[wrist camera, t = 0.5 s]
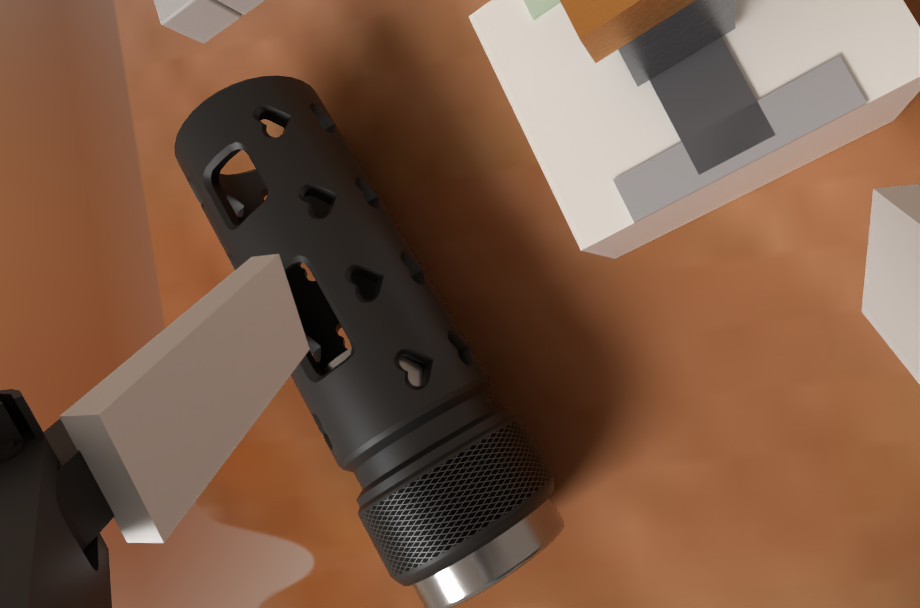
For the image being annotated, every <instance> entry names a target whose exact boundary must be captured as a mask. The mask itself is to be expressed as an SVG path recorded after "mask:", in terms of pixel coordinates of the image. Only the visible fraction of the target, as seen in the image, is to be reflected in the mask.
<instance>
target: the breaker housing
mask: <svg viewBox="0 0 920 608" xmlns="http://www.w3.org/2000/svg"><path fill="white" fill-rule="evenodd" d="M734 1H735V29H734V30H732V31H730V32H729V33H727V34H725V35H724V36H722V37H720V38H719V39H717V40H715V41H714V42H712V43H710V44H709V45H707V46H705V47H704V48H702V49H700V50H699V51H697V52H695V53H694V54H692V55H690V56H689V57H687V58H685V59H684V60H682V61H680V62H679V63H677V64H675V65H674V66H672V67H670V68H669V69H667V70H665V71H664V72H662V73H660V74H659V75H657V76H655V77H654V78H652V79H650V80H649V81H647V82H645V83H643V84H642V85H640V86H637V84H636V82H635V81H634V79H633V77H632V75H631V73H630V71H629V69H628V67H627V66H626V64H625V62H624V60H623V58H622V56H621V54H620V52H619V50H616V51H614V52H613V53H611V54H610V55H608V56H607V57H605V58H603V59H602V60H600V61H599V62H597V63H595V62H594V60H593V59H592V57H591V56H590V54H589V53H588V51H587V50H586V48H585V47H584V45H583V44H582V42H581V41H580V39H579V37H578V35H577V33H576V31H575V29H574V27H573V25H572V23H571V21H570V19H569V17H568V15H567V13H566V11H565V9H564V7H563V5H562V3H561V2H560V0H491V1H490V2H488V3H487V4H485V5H484V6H483V7H481V8H480V9H478V10H477V11H476V12H474V13H473V14H471V15H470V16H469V19H470V21H471V23H472V25H473V27H474V29H475V31H476V33H477V35H478V38H479V40H480V42H481V44H482V46H483V48H484V50H485V52H486V54H487V56H488V58H489V60H490V63H491V65H492V67H493V69H494V71H495V73H496V75H497V77H498V79H499V81H500V83H501V85H502V88H503V90H504V92H505V94H506V96H507V98H508V100H509V102H510V104H511V106H512V108H513V110H514V112H515V115H516V117H517V119H518V121H519V123H520V125H521V127H522V129H523V131H524V133H525V135H526V137H527V140H528V142H529V144H530V146H531V148H532V150H533V152H534V154H535V156H536V158H537V160H538V162H539V165H540V167H541V169H542V171H543V173H544V175H545V177H546V179H547V181H548V183H549V185H550V187H551V190H552V192H553V194H554V196H555V198H556V200H557V202H558V204H559V206H560V208H561V210H562V212H563V215H564V217H565V219H566V221H567V223H568V225H569V227H570V229H571V231H572V233H573V235H574V237H575V240H576V242H577V244H578V246H579V248H580V250H581V251H584V252H589V253H593V254H597V255H601V256H605V257H610V258H614V259H616V258H618V257H620V256H622V255H624V254H626V253H628V252H630V251H632V250H634V249H636V248H638V247H640V246H642V245H644V244H646V243H648V242H650V241H652V240H654V239H656V238H658V237H660V236H663V235H665V234H667V233H669V232H671V231H673V230H675V229H677V228H679V227H681V226H683V225H685V224H687V223H689V222H691V221H693V220H695V219H697V218H699V217H701V216H703V215H705V214H707V213H709V212H711V211H713V210H715V209H717V208H719V207H721V206H723V205H725V204H727V203H729V202H731V201H733V200H735V199H737V198H739V197H741V196H743V195H745V194H747V193H749V192H751V191H753V190H755V189H757V188H759V187H761V186H763V185H765V184H767V183H769V182H771V181H773V180H775V179H777V178H779V177H781V176H783V175H785V174H787V173H789V172H791V171H793V170H795V169H797V168H799V167H801V166H803V165H805V164H807V163H809V162H811V161H813V160H815V159H817V158H819V157H821V156H824V155H826V154H828V153H830V152H832V151H834V150H836V149H838V148H840V147H842V146H844V145H846V144H848V143H850V142H852V141H854V140H856V139H858V138H860V137H862V136H864V135H866V134H868V133H870V132H872V131H874V130H876V129H878V128H880V127H882V126H884V125H886V124H888V123H890V122H892V121H894V120H895V119H896V118H897V116H898V115H899V114H900V113H901V112H902V111H903V110H904V108H905V107H906V106H907V105H908V104H909V103H910V102H911V100H912V99H913V98H914V97H915V96H916V95H917V94H918V92H919V91H920V27H919V25H918V23H917V22H916V20H915V19H914V17H913V15H912V14H911V12H910V10H909V9H908V7H907V5H906V4H905V2H904V1H903V0H734Z"/></svg>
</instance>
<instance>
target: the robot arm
mask: <svg viewBox="0 0 920 608" xmlns="http://www.w3.org/2000/svg"><path fill="white" fill-rule="evenodd" d="M861 312H862V313H863V314H864V315H865V317H866V318H867V319H868V320H869V322H870V323H871V324H872V325H873V327H874V328H875V329H876V330H877V332H878V333H879V334H880V335H881V337H882V338H883V339H884V340H885V342H886V343H887V344H888V345H889V347H890V348H891V349H892V350H893V352H894V353H895V354H896V356H897V357H898V358H899V359H900V361H901V362H902V363H903V364H904V366H905V367H906V368H907V369H908V371H909V372H910V373H911V374H912V376H913V377H914V378H915V379H916V381H917V382H918V383H919V384H920V185H918V184H913V185H904V186H894V187H885V188H876V189H873V198H872V208H871V218H870V229H869V239H868V249H867V260H866V270H865V280H864V291H863V301H862V311H861ZM309 350H310V349H309V345H308V342H307V339H306V336H305V333H304V330H303V327H302V324H301V321H300V317H299V314H298V311H297V308H296V305H295V302H294V299H293V296H292V293H291V289H290V286H289V283H288V280H287V277H286V274H285V271H284V268H283V265H282V261H281V258H280V255H279V254H272V255H263V256H254V257H251V258H249V259H248V260H247V261H246V262H245V263H243V264H242V265H241V266H240V267H239V268H237V269H236V270H235V271H234V272H233V273H231V274H230V275H229V276H228V277H227V278H225V279H224V280H223V281H222V282H221V283H219V284H218V285H217V286H216V287H215V288H213V289H212V290H211V291H210V292H209V293H207V294H206V295H205V296H204V297H202V298H201V299H200V300H199V301H198V302H196V303H195V304H194V305H193V306H192V307H190V308H189V309H188V310H187V311H186V312H184V313H183V314H182V315H181V316H180V317H178V318H177V319H176V320H175V321H174V322H172V323H171V324H170V325H169V326H168V327H166V328H165V329H164V330H163V331H162V332H160V333H159V334H158V335H157V336H155V337H154V338H153V339H152V340H151V341H149V342H148V343H147V344H146V345H145V346H143V348H141V349H140V350H139V351H137V352H136V353H135V354H134V355H133V356H131V357H130V358H129V359H128V360H127V361H125V362H124V363H123V364H122V365H121V366H119V367H118V368H117V369H116V370H115V371H113V372H112V373H111V374H110V375H109V376H107V377H106V378H105V379H104V380H103V381H101V382H100V383H99V384H98V385H96V386H95V387H94V388H93V389H92V390H90V391H89V392H88V393H87V394H86V395H85V396H83V397H82V398H81V399H80V400H78V401H77V402H76V403H75V404H74V405H72V406H71V407H70V408H69V409H68V410H67V411H65V412H64V413H63V414H62V415H60V419H59V420H58V421H57V422H55V423H54V424H53V425H52V426H51V427H49V428H48V429H47V430H46V431H45V432H43V431H42V429H41V427H40V426H39V424H38V422H37V420H36V419H35V417H34V415H33V413H32V411H31V410H30V408H29V406H28V404H27V403H26V401H25V399H24V397H23V395H22V394H21V392H20V391H18V390H13V389H9V390H1V391H0V608H112V602H111V586H110V569H109V554H108V548H107V546H106V544H105V542H104V540H103V538H102V536H101V535H100V532H101V531H102V529H103V528H104V527H105V526H106V525H107V524H108V523H109V521H110V520H111V519H112V518H113V517H114V519H115V521H116V523H117V525H118V526H119V528H120V530H121V532H122V534H123V536H124V537H125V539H126V541H127V543H164V542H165V541H166V540H167V538H168V537H169V536H170V534H171V533H172V532H173V530H174V529H175V528H176V526H177V525H178V524H179V522H180V521H181V520H182V519H183V517H184V516H185V514H186V513H187V512H188V511H189V509H190V508H191V506H192V505H193V504H194V503H195V501H196V500H197V499H198V497H199V496H200V495H201V493H202V492H203V491H204V489H205V488H206V487H207V485H208V484H209V483H210V481H211V480H212V479H213V477H214V476H215V475H216V473H217V472H218V471H219V469H220V468H221V467H222V465H223V464H224V463H225V461H226V460H227V459H228V457H229V456H230V455H231V453H232V452H233V451H234V449H235V448H236V447H237V445H238V444H239V443H240V441H241V440H242V439H243V437H244V436H245V435H246V433H247V432H248V431H249V429H250V428H251V427H252V425H253V424H254V423H255V422H256V420H257V419H258V418H259V416H260V415H261V414H262V412H263V411H264V410H265V408H266V407H267V406H268V404H269V403H270V402H271V400H272V399H273V398H274V396H275V395H276V394H277V392H278V391H279V390H280V388H281V387H282V386H283V384H284V383H285V382H286V380H287V379H288V378H289V376H290V375H291V374H292V372H293V371H294V370H295V368H296V367H297V366H298V364H299V363H300V362H301V360H302V359H303V358H304V356H305V355H306V354H307V352H308V351H309Z"/></svg>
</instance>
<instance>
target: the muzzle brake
mask: <svg viewBox="0 0 920 608" xmlns="http://www.w3.org/2000/svg"><path fill="white" fill-rule="evenodd" d="M262 119H267V120H270V121H272V122H274V123H276V124H278V125H280V126H282V127H284V131H283V134H282V135H281V136H280V137H277V138H274V137H271V136H269V135H268V133H267V131H266V127H267V126H266V125H265V124H263V123H262V122H261V121H260V120H262ZM241 150H244V151H245V152H246V153H247V154H248V155H249V157H250V159H251V161H252V162H253V164H254V166H255V168H256V169H254V170H251V171H247V172H243V173H238V174H231V175H224V174H220V170H221V169H222V168H223V167H224V165H225V164H226V163H227V162H228V161H229V160H230V159H231V158H232V157H233V156H234V155H236V154H237V153H238V152H239V151H241ZM175 156H176V159H177V161H178V163H179V165H180V167H181V169H182V171H183V173H184V175H185V176H186V178H187V180H188V182H189V184H190V186H191V188H192V190H193V192H194V193H195V195H196V197H197V199H198V200H199V202H200V203H201V207H202V209H203V210H204V212H205V214H206V216H207V218H208V220H209V222H210V224H211V226H212V227H213V229H214V231H215V233H216V235H217V237H218V239H219V241H220V243H221V244H222V246H223V248H224V250H225V252H226V254H227V256H228V258H229V260H230V261H231V263H232V265H233V267H234V269H235V270H236V269H237V268H239V267H240V266H241V265H242V264H243V263H245V262H246V261H247V260H248V259H249V258H251V257H254V256H263V255H272V254H279V255H280V258H281V261H282V265H283V268H284V271H285V274H286V277H287V280H288V283H289V286H290V289H291V293H292V296H293V299H294V302H295V305H296V308H297V311H298V314H299V317H300V321H301V324H302V327H303V330H304V333H305V336H306V339H307V342H308V345H309V349H310V350H309V351H308V352H307V354H306V355H305V356H304V358H303V359H302V360H301V362H300V363H299V364H298V366H297V367H296V368H295V370H294V371H293V372H292V374H291V377H292V378H293V380H294V382H295V384H296V386H297V388H298V390H299V392H300V394H301V395H302V397H303V399H304V401H305V403H306V405H307V407H308V409H309V411H310V412H311V414H312V416H313V418H314V420H315V422H316V424H317V426H318V428H319V429H320V431H321V432H322V434H323V435H324V438H325V441H326V443H327V445H328V446H329V448H330V450H331V452H332V454H333V456H334V458H335V460H336V462H337V463H338V465H339V467H341V468H342V469H343V470H346V471H350V472H354V474H355V475H356V477H357V479H358V481H359V483H360V485H361V487H362V489H363V490H362V492H361V494H360V495H359V497H358V498H357V502H358V504H359V506H360V509H359V512H358V515H359V517H360V519H361V521H362V523H363V525H364V527H365V529H366V531H367V532H368V534H369V536H370V538H371V540H372V542H373V544H374V546H375V548H376V550H377V551H378V553H379V555H380V557H381V559H382V561H383V563H384V565H385V567H386V568H387V570H388V572H389V574H390V576H391V577H392V578H393V579H394V580H395V581H397V582H398V583H400V584H402V585H403V586H410V585H413V586H414V588H415V590H416V592H417V594H418V596H419V598H420V600H421V601H422V603H423V605H424V607H425V608H452V607H454V606H456V605H459V604H461V603H463V602H465V601H467V600H469V599H471V598H472V597H474V596H476V595H478V594H480V593H481V592H483V591H485V590H486V589H488V588H490V587H492V586H493V585H495V584H496V583H498V582H499V581H501V580H503V579H504V578H506V577H507V576H509V575H510V574H512V573H513V572H514V571H516V570H517V569H519V568H520V567H522V566H523V565H524V564H526V563H527V562H528V561H530V560H531V559H532V558H534V557H535V556H536V555H537V554H539V553H540V552H541V551H542V550H543V549H545V548H546V547H547V546H548V545H549V544H550V543H551V542H552V541H553V540H554V539H555V538H556V537H557V536H558V535H559V533H560V532H561V530H562V529H563V527H564V521H563V519H562V517H561V515H560V514H559V512H558V510H557V509H556V507H555V505H554V504H553V502H552V500H551V499H550V497H551V495H552V494H553V493H554V476H553V473H552V472H551V470H550V468H549V467H548V465H547V464H546V462H545V460H544V459H543V457H542V455H541V454H540V452H539V450H538V449H537V447H536V445H535V444H534V442H533V440H532V439H531V437H530V435H529V434H528V432H527V431H526V429H525V427H524V426H523V424H522V422H521V421H520V419H519V418H518V417H517V416H512V415H511V414H510V412H509V410H508V409H496V408H495V406H494V405H493V403H492V401H491V400H490V398H489V397H488V395H487V389H488V385H489V379H488V376H487V375H486V373H485V372H484V370H483V368H482V367H481V365H480V363H479V362H478V360H477V358H476V357H475V355H474V353H473V352H472V350H471V348H470V347H469V345H468V344H467V342H466V340H465V339H464V337H463V335H462V334H461V332H460V330H459V329H458V327H457V325H456V324H455V322H454V320H453V319H452V317H451V315H450V314H449V312H448V310H447V309H446V307H445V305H444V304H443V302H442V300H441V299H440V297H439V295H438V294H437V292H436V290H435V289H434V287H433V286H432V284H431V282H430V281H429V279H428V277H427V276H426V274H425V272H424V271H423V269H422V267H421V266H420V264H419V262H418V261H417V259H416V257H415V256H414V254H413V252H412V251H411V249H410V247H409V246H408V244H407V242H406V241H405V239H404V237H403V236H402V234H401V232H400V231H399V229H398V228H397V226H396V224H395V223H394V221H393V219H392V218H391V216H390V214H389V213H388V211H387V209H386V208H385V206H384V204H383V203H382V201H381V199H380V198H379V196H378V194H377V193H376V191H375V189H374V188H373V186H372V184H371V183H370V181H369V179H368V178H367V176H366V174H365V173H364V171H363V170H362V168H361V166H360V165H359V163H358V161H357V160H356V158H355V156H354V155H353V153H352V151H351V150H350V148H349V146H348V145H347V143H346V141H345V140H344V138H343V136H342V135H341V133H340V131H339V130H338V128H337V126H336V125H335V123H334V121H333V120H332V118H331V116H330V115H329V113H328V112H327V110H326V108H325V107H324V105H323V103H322V102H321V100H320V98H319V97H318V95H317V93H316V92H315V91H314V90H313V88H312V87H311V86H310V85H308V84H306V83H305V82H303V81H301V80H298V79H295V78H292V77H285V76H262V77H257V78H252V79H247V80H244V81H241V82H238V83H235V84H233V85H230V86H228V87H226V88H224V89H222V90H220V91H218V92H217V93H215V94H214V95H212V96H211V97H209V98H208V99H206V100H205V101H204V102H202V103H201V104H200V105H199V106H198V107H197V108H196V109H195V110H194V111H192V113H191V114H190V115H189V117H188V118H187V119H186V120H185V122H184V123H183V124H182V126H181V128H180V130H179V132H178V134H177V137H176V142H175ZM266 195H267V198H266V200H264V197H265V196H266ZM301 263H304V264H306V265H307V267H308V268H309V269H310V271H311V272H312V274H313V276H314V278H315V279H316V281H310V280H308V279H307V272H306V270H305V269H303V268H302V267H301ZM341 327H342V328H343V330H344V331H345V333H346V335H347V337H348V339H349V340H350V343H351V348H350V349H346V348H345V340H344V338H343V337H341V336H339V335H338V330H339V329H340V328H341ZM312 354H313V356H312Z"/></svg>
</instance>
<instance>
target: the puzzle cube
mask: <svg viewBox="0 0 920 608" xmlns="http://www.w3.org/2000/svg"><path fill="white" fill-rule="evenodd" d="M263 1H264V0H154V2H155V6H156V9H157V12H158V16H159V19H160V23H161V24H162V25H163V26H166V27H168V28H170V29H172V30H174V31H177V32H179V33H181V34H183V35H185V36H188V37H190V38H192V39H194V40H196V41H199V42H201V43H203V44H204V43H205V42H207V41H208V40H210V39H211V38H212V37H214V36H215V35H217V34H218V33H219V32H221V31H222V30H224V29H225V28H227V27H228V26H229V25H231V24H232V23H234V22H235V21H236V20H238V19H239V18H240V17H241V14H243V15H245V14H246V13H248V12H249V11H250V10H252V9H253V8H255V7H256V6H257V5H259V4H260V3H262V2H263ZM240 13H241V14H240Z"/></svg>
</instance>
